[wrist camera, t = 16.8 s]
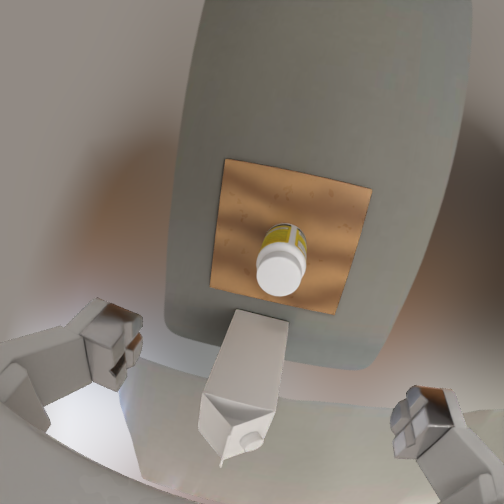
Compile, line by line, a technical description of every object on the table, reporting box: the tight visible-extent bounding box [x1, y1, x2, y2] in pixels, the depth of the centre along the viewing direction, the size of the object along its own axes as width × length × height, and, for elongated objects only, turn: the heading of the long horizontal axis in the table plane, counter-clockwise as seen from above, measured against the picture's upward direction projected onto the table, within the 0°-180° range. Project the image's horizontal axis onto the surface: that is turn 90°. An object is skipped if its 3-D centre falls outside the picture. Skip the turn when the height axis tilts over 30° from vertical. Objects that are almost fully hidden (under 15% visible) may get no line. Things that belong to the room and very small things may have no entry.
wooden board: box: [210, 159, 372, 315], centre depth 35 cm, size 16×16×1 cm
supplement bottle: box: [256, 223, 307, 296], centre depth 31 cm, size 5×5×8 cm
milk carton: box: [198, 309, 289, 467], centre depth 33 cm, size 7×7×19 cm
